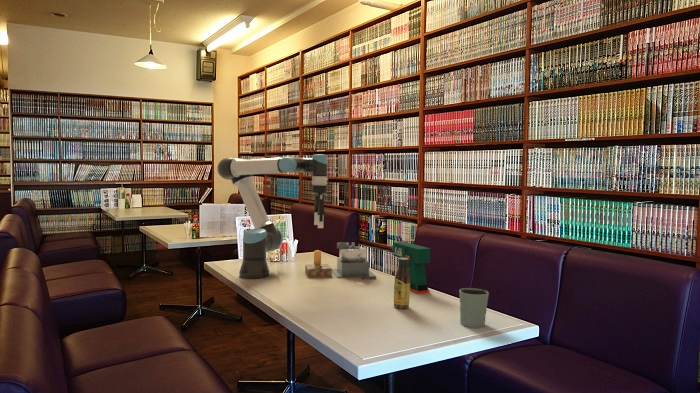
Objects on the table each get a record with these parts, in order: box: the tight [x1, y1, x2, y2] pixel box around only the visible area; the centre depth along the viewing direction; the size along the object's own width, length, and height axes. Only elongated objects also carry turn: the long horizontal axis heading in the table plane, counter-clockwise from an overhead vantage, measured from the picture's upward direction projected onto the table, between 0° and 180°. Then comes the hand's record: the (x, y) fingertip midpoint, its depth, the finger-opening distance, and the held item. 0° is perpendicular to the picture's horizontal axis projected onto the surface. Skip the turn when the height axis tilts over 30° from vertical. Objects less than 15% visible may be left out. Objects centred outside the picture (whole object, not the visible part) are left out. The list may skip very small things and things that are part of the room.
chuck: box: [336, 241, 367, 262], centre depth 250 cm, size 15×14×9 cm
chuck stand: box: [332, 257, 377, 280], centre depth 250 cm, size 20×20×8 cm
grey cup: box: [458, 287, 490, 329], centre depth 172 cm, size 10×10×12 cm
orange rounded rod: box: [313, 249, 322, 267], centre depth 246 cm, size 4×4×12 cm
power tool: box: [389, 241, 431, 295], centre depth 229 cm, size 32×7×20 cm, turn 25°
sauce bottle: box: [393, 257, 411, 310], centre depth 192 cm, size 6×6×20 cm
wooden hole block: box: [304, 263, 333, 278], centre depth 246 cm, size 12×12×5 cm
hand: (318, 226), depth 245 cm, fingers open, 13 cm apart
